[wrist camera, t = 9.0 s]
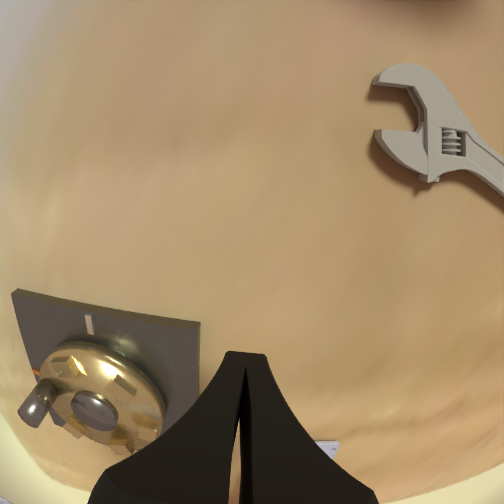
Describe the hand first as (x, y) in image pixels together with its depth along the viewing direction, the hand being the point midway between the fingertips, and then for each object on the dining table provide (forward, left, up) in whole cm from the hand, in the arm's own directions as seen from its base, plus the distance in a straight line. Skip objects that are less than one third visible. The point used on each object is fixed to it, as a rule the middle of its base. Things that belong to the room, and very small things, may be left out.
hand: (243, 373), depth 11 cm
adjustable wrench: (+8, -17, -10) cm, 22 cm away
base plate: (-12, +11, -9) cm, 19 cm away
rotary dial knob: (-12, +11, -8) cm, 18 cm away
